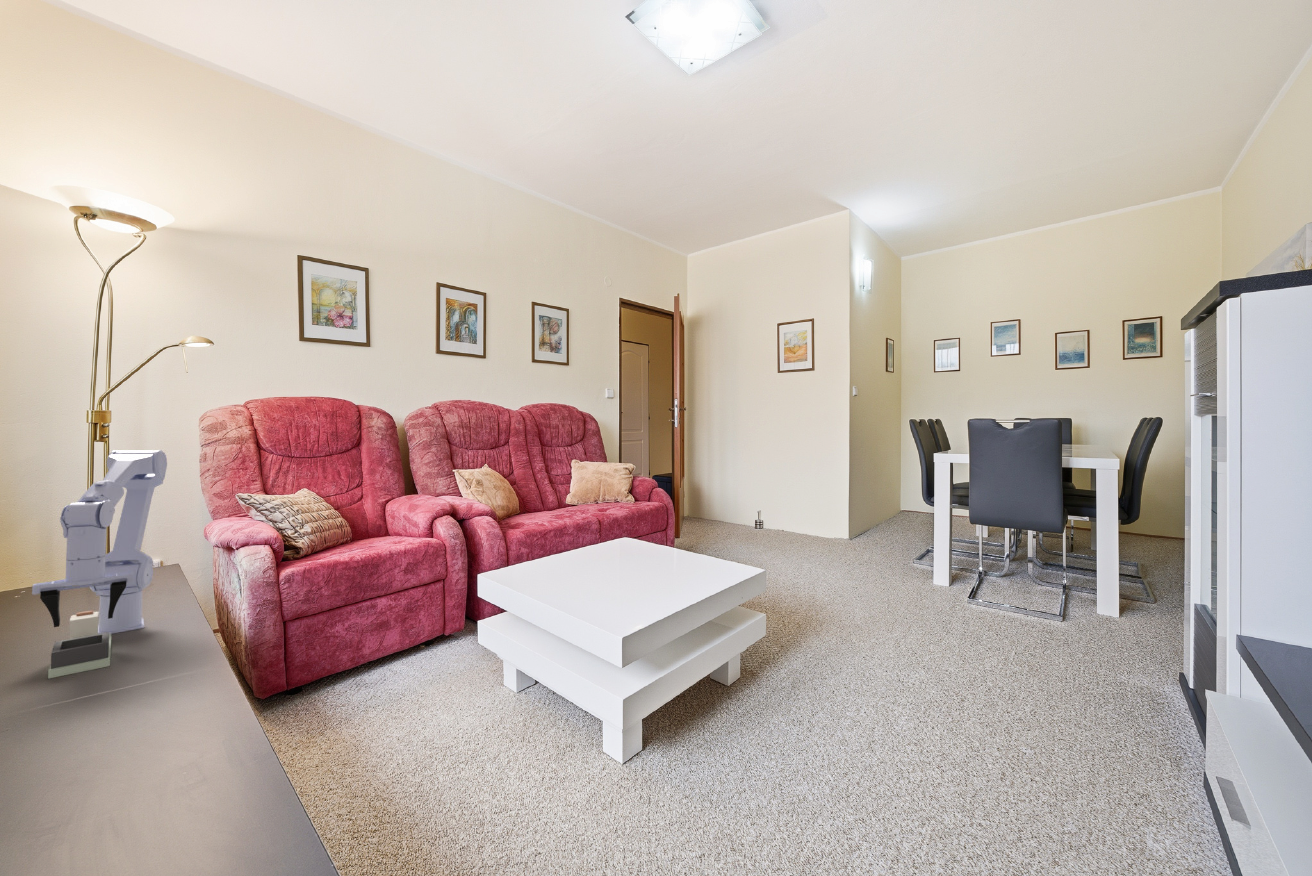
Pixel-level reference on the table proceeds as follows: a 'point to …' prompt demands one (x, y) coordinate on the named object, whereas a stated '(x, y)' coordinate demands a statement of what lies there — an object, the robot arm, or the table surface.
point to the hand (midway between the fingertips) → (84, 621)
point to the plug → (83, 624)
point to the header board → (80, 654)
